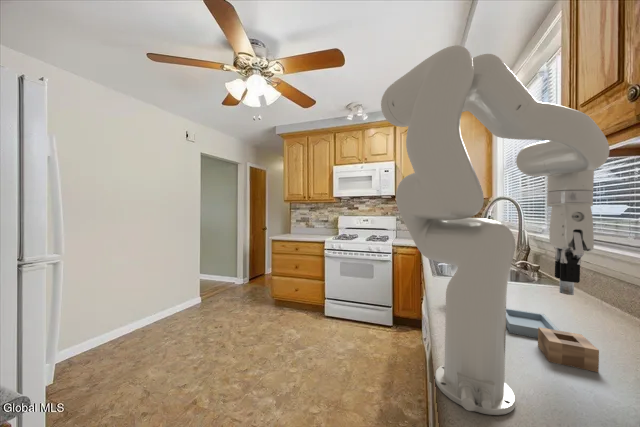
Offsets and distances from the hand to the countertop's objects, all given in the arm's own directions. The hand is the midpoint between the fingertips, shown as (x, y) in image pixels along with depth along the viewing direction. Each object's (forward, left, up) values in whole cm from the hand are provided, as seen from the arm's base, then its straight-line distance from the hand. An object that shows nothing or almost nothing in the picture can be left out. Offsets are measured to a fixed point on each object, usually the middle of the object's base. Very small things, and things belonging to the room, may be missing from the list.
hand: (566, 279), depth 59 cm
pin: (0, 0, -3) cm, 3 cm away
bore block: (0, 0, -18) cm, 18 cm away
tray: (+16, +3, -18) cm, 24 cm away
